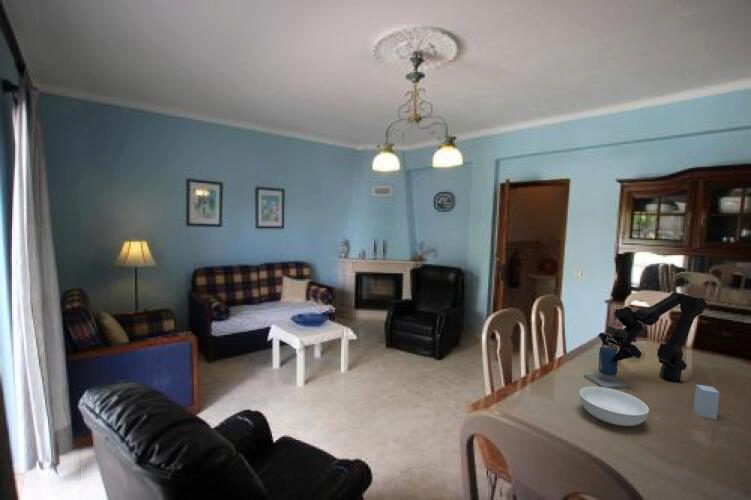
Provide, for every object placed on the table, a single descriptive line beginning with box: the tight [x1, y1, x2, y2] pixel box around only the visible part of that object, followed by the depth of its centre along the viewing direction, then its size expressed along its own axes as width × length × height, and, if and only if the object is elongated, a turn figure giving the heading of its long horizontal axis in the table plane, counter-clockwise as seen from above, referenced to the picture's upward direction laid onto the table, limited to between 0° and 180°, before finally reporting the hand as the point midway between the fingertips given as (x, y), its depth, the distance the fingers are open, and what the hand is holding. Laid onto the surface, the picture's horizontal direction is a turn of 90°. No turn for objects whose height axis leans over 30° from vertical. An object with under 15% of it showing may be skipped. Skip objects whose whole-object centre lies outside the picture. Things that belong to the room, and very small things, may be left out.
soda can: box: [597, 344, 619, 377], centre depth 163 cm, size 7×7×12 cm
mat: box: [583, 373, 630, 390], centre depth 164 cm, size 12×12×1 cm
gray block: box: [692, 384, 720, 420], centre depth 138 cm, size 5×5×10 cm
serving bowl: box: [579, 386, 650, 427], centre depth 134 cm, size 21×21×7 cm
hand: (605, 358), depth 163 cm, fingers closed on soda can, 7 cm apart
